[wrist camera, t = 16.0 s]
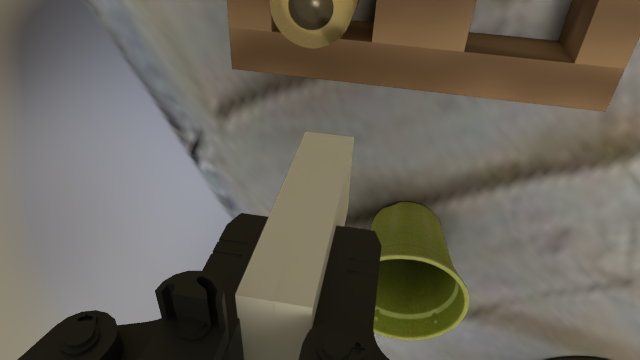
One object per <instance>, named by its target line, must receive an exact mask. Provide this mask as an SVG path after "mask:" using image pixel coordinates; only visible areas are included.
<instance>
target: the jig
mask: <svg viewBox="0 0 640 360" xmlns="http://www.w3.org/2000/svg"><path fill="white" fill-rule="evenodd" d="M227 3H228V17H229V31H230V46H231V60H232V69H238V70H247V71H255V72H264V73H273V74H281V75H290V76H299V77H307V78H316V79H325V80H334V81H342V82H351V83H360V84H368V85H377V86H386V87H394V88H403V89H412V90H420V91H429V92H438V93H446V94H455V95H464V96H473V97H481V98H490V99H499V100H507V101H516V102H525V103H533V104H542V105H551V106H559V107H568V108H577V109H585V110H594V111H603V112H605V111H606V109H607V107H608V105H609V103H610V100H611V98H612V96H613V94H614V92H615V90H616V87H617V85H618V83H619V81H620V79H621V76H622V74H623V72H624V70H625V68H626V66H627V63H628V61H629V59H630V57H631V55H632V52H633V50H634V48H635V46H636V44H637V42H638V39H639V37H640V0H573V1H572V4H571V7H570V9H569V12H568V15H567V18H566V21H565V23H564V26H563V29H562V32H561V35H560V38H559V40H558V41H551V40H541V39H531V38H521V37H511V36H501V35H491V34H481V33H471V32H469V29H470V24H471V20H472V16H473V12H474V7H475V3H476V0H377V1H376V10H375V19H374V23H370V22H360V21H350V24H349V26H348V28H347V30H346V31H345V33H344V34H343V35H342V36H341V37H340V38H339V39H338V40H337V41H335V42H334V43H332V44H330V45H328V46H325V47H321V48H306V47H302V46H299V45H297V44H295V43H293V42H291V41H290V40H288V39H287V38H286V37H285V36H284V35H283V34H282V33H281V32H280V31H279V29H278V28H277V26H276V24H275V22H274V20H273V17H272V14H271V10H270V0H227Z"/></svg>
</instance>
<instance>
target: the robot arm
mask: <svg viewBox="0 0 640 360" xmlns="http://www.w3.org/2000/svg"><path fill="white" fill-rule="evenodd" d="M353 145H354V137H348V136H340V135H331V134H322V133H314V132H305V134H304V136H303V139H302V141H301V143H300V146H299V148H298V150H297V153H296V155H295V157H294V160H293V162H292V164H291V166H290V169H289V171H288V173H287V176H286V178H285V180H284V183H283V185H282V187H281V190H280V192H279V194H278V197H277V199H276V201H275V204H274V206H273V208H272V211H271V213H270V215H269V217H265V216H258V215H251V214H244V213H241V214H240V215H238V216H237V217H236V218H235V219H233V220H232V221H231V222H230V223H228V224H227V226H226V228H225V230H224V231H223V233H222V235H221V237H220V239H219V242H217V244H216V246H215V248H214V250H213V254H211V255H210V257H209V259H208V261H207V263H206V265H205V267H204V268H203V271H186V272H182V273H179V274H176V275H174V276H172V277H170V278H168V279H167V280H165V281H164V282H162V284H161V285H160V286H159V287H158V288H157V289H156V290H155V293H156V297H157V301H158V304H159V308H160V312H161V316H162V318H161V319H158V320H154V321H149V322H143V323H134V324H127V325H117V324H116V321H115V319H114V318H112V317H111V316H110V315H109V314H108V313H105V312H100V311H96V310H95V311H86V312H80V313H78V314H75V315H73V316H70V317H68V318H66V319H65V320H63V321H62V322H60V323H59V324H57V325H56V326H55V327H54V328H53V329H51V330H50V331H49V332H48V333H47V334H46V335H45V336H44V337H43V338H41V339H40V340H39V341H38V342H37V343H36V344H35V345H34V346H32V347H31V348H30V349H29V350H28V351H27V352H26V353H25V354H24V355H22V356H21V357H20V358H19V359H18V360H389V359H388V358H387V357H386V356H385V355H384V354H383V353H382V351H381V350H380V348H379V347H378V345H377V343H376V340H375V337H374V329H373V325H374V316H375V306H376V296H377V286H378V276H379V267H380V257H381V247H382V246H381V243H380V241H379V239H378V237H377V234H376V232H375V231H372V230H365V229H358V228H351V227H344V225H345V221H346V216H347V211H348V204H349V192H350V180H351V168H352V157H353ZM553 360H603V359H596V358H584V357H572V358H560V359H553Z"/></svg>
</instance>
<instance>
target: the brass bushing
mask: <svg viewBox="0 0 640 360" xmlns="http://www.w3.org/2000/svg"><path fill="white" fill-rule="evenodd" d="M358 2H359V0H270V10H271V14H272V17H273V20H274V22H275V24H276V26H277V28H278V29H279V31H280V32H281V33H282V34H283V35H284V36H285V37H286V38H287V39H288V40H290V41H291V42H293V43H295V44H297V45H299V46H302V47H306V48H321V47H325V46H328V45H330V44H332V43H334V42H335V41H337V40H338V39H339V38H340V37H341V36H342V35H343V34H344V33H345V31H346V30H347V28H348V26H349V24H350V21H351V19H352V17H353V14H354V12H355V9H356V7H357V4H358Z"/></svg>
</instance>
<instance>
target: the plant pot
mask: <svg viewBox="0 0 640 360" xmlns="http://www.w3.org/2000/svg"><path fill="white" fill-rule="evenodd" d="M370 230H372V231H375V232H376V234H377V237H378V239H379V241H380V243H381V246H382V247H381V257H380V267H379V276H378V286H377V296H376V306H375V316H374V325H373V329H374V333H376V334H379V335H381V336H385V337H389V338H394V339H400V340H423V339H429V338H434V337H437V336H440V335H442V334H444V333H446V332H448V331H450V330H452V329H453V328H455V327H456V326H457V325H458V324H459V323H460V322H461V321H462V320H463V318H464V317H465V315H466V313H467V311H468V307H469V295H468V291H467V288H466V285H465V283H464V282H463V280H462V279H461V278H460V276H459V275H458V274H457V272H456V270H455V269H454V267H453V265H452V262H451V259H450V256H449V253H448V249H447V246H446V243H445V239H444V235H443V232H442V228H441V225H440V222H439V220H438V219H437V217H436V216H435V214H434V213H433V212H432V211H431V210H430V209H428V208H426V207H425V206H423V205H420V204H417V203H412V202H399V203H397V204H395V205H392V206H389V207H386V208H383V209H382V210H380V211H379V212H378V213H377V215H376V216H375V218H374V220H373V223H372V226H371V229H370Z"/></svg>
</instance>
